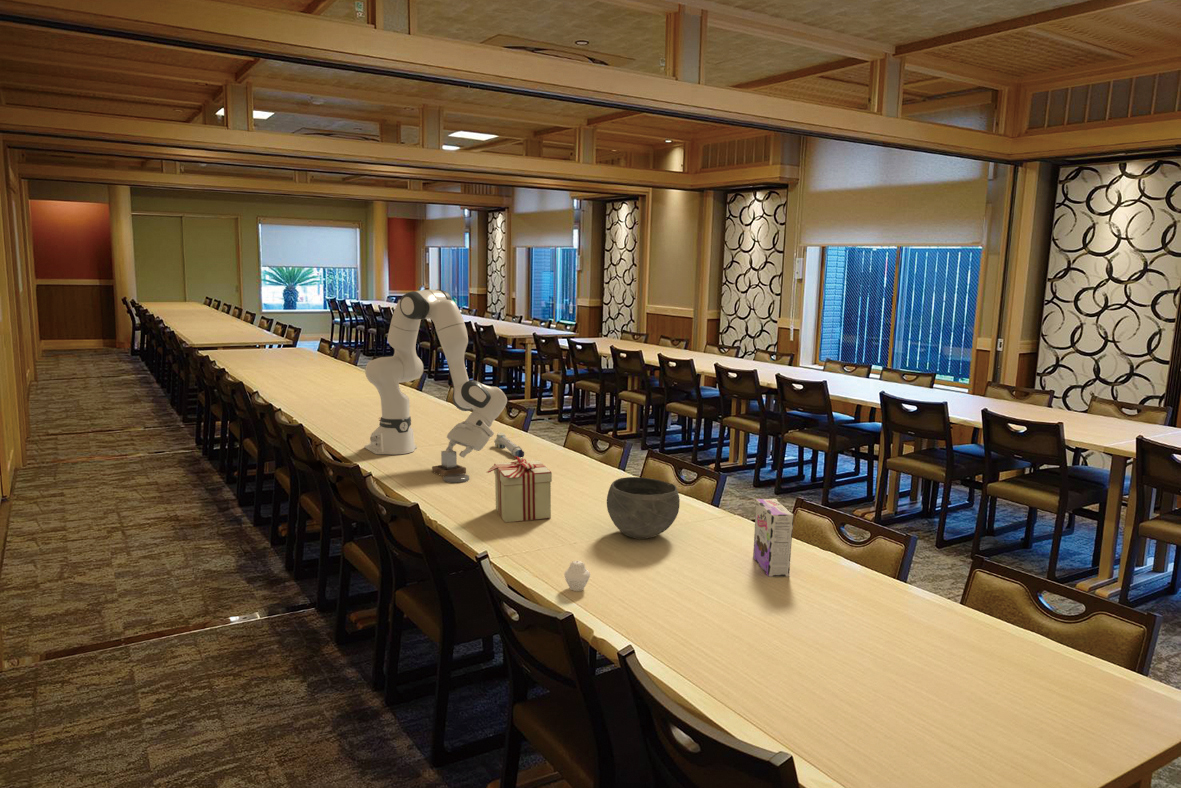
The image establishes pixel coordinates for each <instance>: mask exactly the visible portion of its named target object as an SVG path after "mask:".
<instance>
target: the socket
mask: <svg viewBox="0 0 1181 788" xmlns="http://www.w3.org/2000/svg"><path fill="white" fill-rule="evenodd" d="M431 472H432V473H434V472H435V473H434V474H436V473H437V475H439V474H440V475H439V476H441V475H442V476H441V477H444V476H446V475H449V474H463V473H464V474H467V468H466V467H465V466H462V465H459V464H457V469H452V470H443V469H442V468H441V464H439V465H433V466H432V467H431Z"/></svg>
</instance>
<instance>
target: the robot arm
mask: <svg viewBox="0 0 1181 788" xmlns="http://www.w3.org/2000/svg"><path fill="white" fill-rule="evenodd" d="M428 319H430V320H431V321H432V322H433V324H434V325H433V326H434V327H435V331H436V335H437V338H438V340H439V344H440V346H441V348H442V351H443V354H444V356H445V360H446V363H447V367H448V370H449V374H450V375H449V376H450V378H451V382H452V389H453V391H452V402H453V404H454V406H455V408H456V409H458V410H460V411H461V412H462V411H463V412H469V411H471V413H470V414H469V415H468V417H467V418H466V419H465V421H462V422H461V421H460V422H458V423H457V424H455V426H453V427H452V428H451V430H450V431H449V432H448V433H447V435H446V438H447V440H448V445H447V447H446V449H445V451H446V450H453V451H454V449H453V448H454V446H456V445H460V446H462V447H465V449H463V450H461V451H460V453H459V456H460V457H461V458H463V459H464V458H465V457H466V456H467V455H468V454H470V453H471V452H472V451H473V450H474V451H476V452H477V451H481V450H482V449H483V448H484V447H485V446H486V444H488V441H490V438H492V437H493V436H494V434H495V433H494V431H493V429H491V427H492V425H493V422H494V421H495V420H496V419H497V418H499V416H500V415H501V414H502V412H503V411H504V409H505V407H506V406H507V403H508V398H507V394H505V391H503V390H502V389H501V388H499V387H498V386H490V385H486V384H483V383H481V382H480V381H477V380H473V379H472V380H470V379H469V376H468V372H467V368H466V365H465V363H466V362H465V354H466V350H467V347H468V344H469V337H468V330H467V327H466V324H465V321H464V318H463V316H462V313H461V311H460V309H459V307H458V305H457V303H456V302H454V300H452V296H451V295H450V293H448V292H447V291H446V290H442V289H423V290H416V291H414V290H413V291H408V292H406V293H405V294H403V295H402V296H401V298H400V300H398V301H397V303H396V306H395V308H394V311H393V314H392V317H391V320H390V325H389V329H388V334H387V343H388V344H389V346H390V347H392V348H393V350H394V353H393V356H381V357H377V358H374V359H372V360H369V361H368V363H367V364H366V366H365V370H364V371H365V377H366V379H367V381H368V382H369V383H370V384H372V385H373V386H374V387H375V388H376V390H377V392H378V394H379V398H380V404H381V405H380V406H381V417H380V418H379V419H378V421H379V425H378V426H377V428H376V429H375V430H374V431H373V432H371V434H370V437H369V439H370V441H369V442H370V443H368V444H367V443H366V444H364V448H365V449H366V450H368V451H370V452H371V453H373V454H375V455H405V454H409V453H412V452H414V451H415V450H416V449H417V448H418V447H417V445H416V444H415V438H414V437H415V436H414V429H413V428H412V427H411V425H412V418H411V414H410V411H411V410H410V407H411V405H410V398H409V396H408V395H407V394H406V393H404V392H402V391H401V388H400V383H408V382H412V381H414V380H417V379H420V378H421V377H422V376H423V373H424V363H423V361H422V359H420V357H419V356H418V354H417V350H416V347H417V345H416V344H417V341H418V340H417V339H418V334H419V330H420V325H421V320H428Z"/></svg>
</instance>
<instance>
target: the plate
mask: <svg viewBox="0 0 1181 788" xmlns="http://www.w3.org/2000/svg"><path fill="white" fill-rule="evenodd" d="M445 481H446V482H445ZM466 481H467V482H469V481H470V475H468V474H466V473H464V474H449V475H446V476H443V482H445V483H448V482H451V483H450V484H460V483H459V482H462V483H466Z"/></svg>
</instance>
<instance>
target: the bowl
mask: <svg viewBox="0 0 1181 788" xmlns="http://www.w3.org/2000/svg"><path fill="white" fill-rule="evenodd" d="M609 486H610V487H609V489H608V492H607V496H606V509H607V513H608V515H609V517H610V519H611V521H612V523H613V524H614V526H615V527H616V528H617V529H618V530H619V532H620V533H622V534H623V535H625V536H626V537H629V538H632V539H640V540H641V539H651V538H653V537H657V536H658V535H660V534H662V533H664V532H665V531H667V530H668V529H669V528H670V526H672V524H673V523H674V522H675V520H676V519H677V517H678V515H679V511H680V495H679V490H678V488H677V485H675V484H673V483H670V482H668V481H664V480H662V479H661V480H660V479H656V478H648V477H640V476H628V477H621V478H617V479H616V480H614V481H613V482H612V483H611V484H610V485H609Z"/></svg>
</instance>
